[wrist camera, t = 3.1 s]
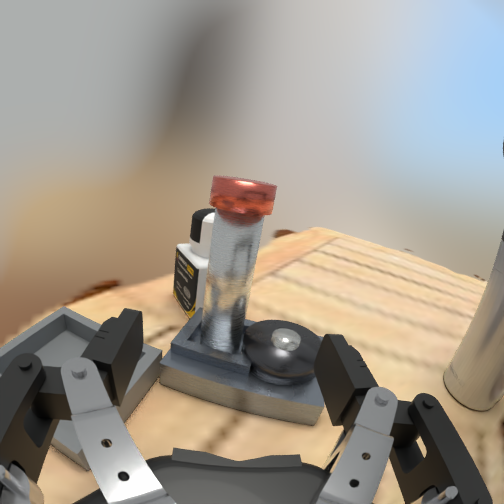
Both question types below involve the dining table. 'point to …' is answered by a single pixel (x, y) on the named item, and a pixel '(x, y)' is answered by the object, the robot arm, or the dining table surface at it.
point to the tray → (72, 346)
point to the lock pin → (232, 257)
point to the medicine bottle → (194, 263)
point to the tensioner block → (250, 370)
